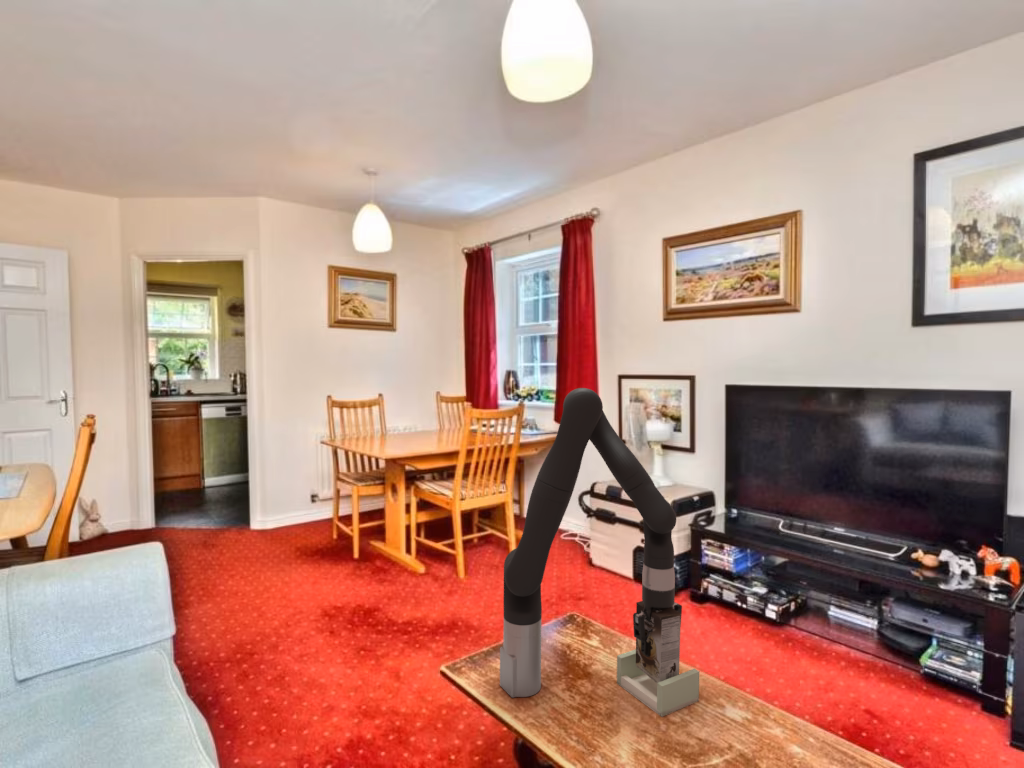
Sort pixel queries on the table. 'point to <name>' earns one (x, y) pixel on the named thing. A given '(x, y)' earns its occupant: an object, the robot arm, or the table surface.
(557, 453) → the robot arm
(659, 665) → the coffee box
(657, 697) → the caddy
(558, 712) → the table surface
